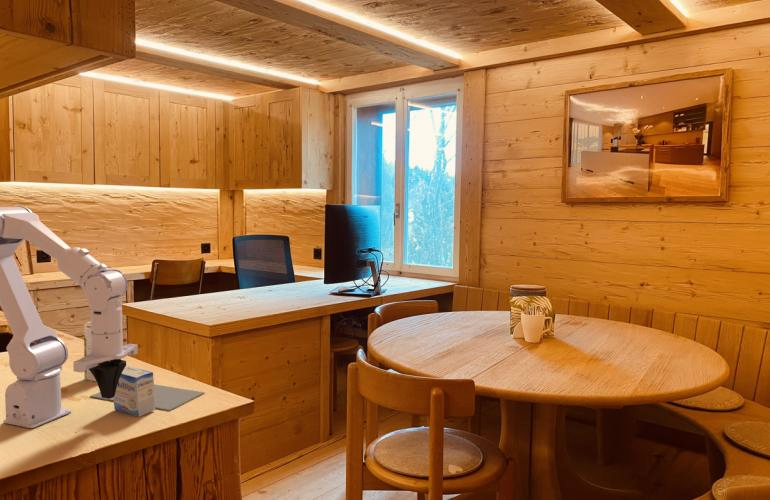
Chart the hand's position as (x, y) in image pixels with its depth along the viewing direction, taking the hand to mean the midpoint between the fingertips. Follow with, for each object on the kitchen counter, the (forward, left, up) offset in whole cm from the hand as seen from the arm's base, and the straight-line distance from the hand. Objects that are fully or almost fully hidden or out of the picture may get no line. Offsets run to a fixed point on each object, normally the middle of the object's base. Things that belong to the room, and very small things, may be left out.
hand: (108, 397), depth 117 cm
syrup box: (+21, +23, -6) cm, 32 cm away
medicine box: (+7, 0, -5) cm, 9 cm away
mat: (+16, +4, -5) cm, 17 cm away
